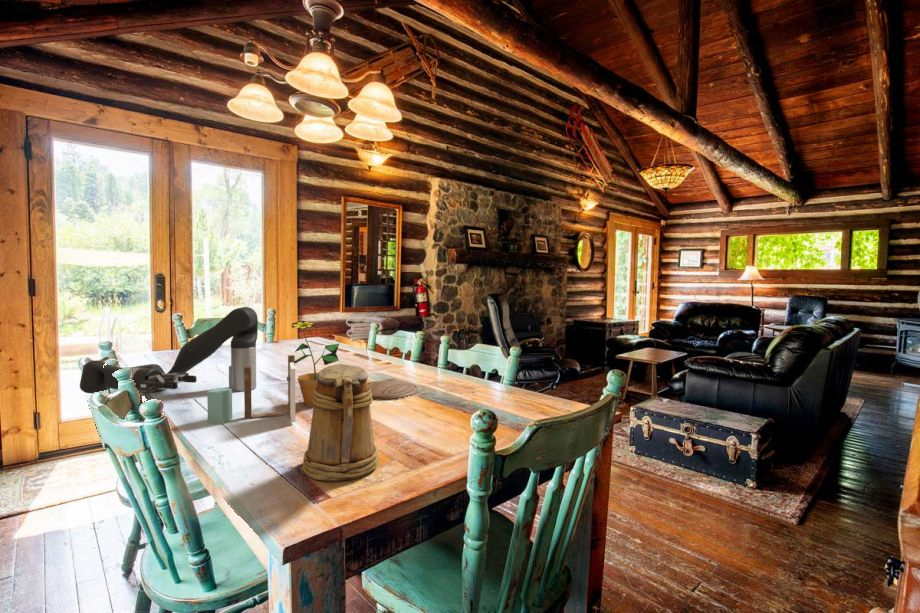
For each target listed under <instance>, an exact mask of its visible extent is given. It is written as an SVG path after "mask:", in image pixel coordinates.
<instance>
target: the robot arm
mask: <svg viewBox="0 0 920 613" xmlns="http://www.w3.org/2000/svg"><path fill="white" fill-rule="evenodd" d="M258 319H259V318H258V314H257V312H256V311H255V309H253V308H252V307H249V306H243V307H238V308H235V309H233V310H231V311H230V312H229V313H227V315H226V316H225V317H223V318H222V319H221V320H220V321H219V322H217V323H216V324H215V325H214V326H212V327H211V328H209V329H207V330H204V331H203V332H201V333H200V334H198V335H196V336H195V337H193V338H192V339H191V340H190V341H188V342H186V343H185V344H184V345H183V346H182V347H181V348H180V350H179V352H178V354H177V356H176V359H175V361H174V363H173V364H172V367H171V368H170V369H169V371H168V372H167V373H166V371H164V369H163V368H162V366H160V365H159V364H157V363H150V364H143V365H137V366H133V367H132V366H131V367H129V368H130V369H131V371H132V377H131V379H132V380H134V382H135V383H136V385H135V387H136V388H137V390H138V391H137V392H140V393H141V392H143V393H147V394H148V393H149V394H150V393H156V392H161V391H163V390H166V389H167V390H176V389H178V386H179V385H178V384H180V383H191V384H193V383H196V382H197V376H196V375H191V374H190V373H189V372H188V371H190V370H191V369H193V368H194V367H196V366H197V365H199V364H201V363H202V362H203V361H205V360H207V359H208V358H209V357H211V356H212V355H213V354H214V353H216V351H217V350H219V349H220V348H221V347H222V345H223V344H224V343H225V342H227V341H228V340H229V339H231V338H232V339H231V341H230V365H229V366H228V389H232V391H235V392H244V366H251V391H252V390H255V389H257V346H256V345H257V340H258V334H259V333H258V332H259V331H258V330H259V329H258V328H259V322H258ZM105 363H106V362H105V361H102V360H90V361H88V362H86V363H85V364H84V365H83V367H82V373H81V377H80V380H79V381H80V382H79V389H80V390H81V391H82V392H83V393H86V394H95V393H94V392H99V391H103V392H105V391H107V390H109V389H113V390H119V389H118V381H117V379H116V378H115V377H113V376H112V373H114V372H115V371H117V370H119V369H122V368H123V367H118V366H115V365H112V364H110V365H108V364H109V363H108V364H107V365H106V366H105V365H104V364H105ZM103 365H104V368H103ZM189 374H190V375H189ZM104 390H105V391H104ZM99 393H100V392H99Z"/></svg>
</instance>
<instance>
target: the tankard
mask: <svg viewBox="0 0 920 613" xmlns="http://www.w3.org/2000/svg"><path fill="white" fill-rule="evenodd" d="M316 373H317V375H316V378H317V386H316V387H315V388H314V392H313V403H314V406H312V408H313V409H312V416H311V425H310V430H309V439H308V444H307V449H306V450H305V451H304V454H303V460H302V470H303V472H304V474H306V476H308V477H309V478H312V479H314V480H318V481H323V482H335V483H336V482H343V481H352V480H353V481H354V480H356V479H359V478H362V477H364V476H367V475H369V474H370V473H372V472H373V471H375V470H376V468H377V467H378V465H379V464H380V463H379V455H378V454H379V452H378V449H377V446H376V445H375V441H374V440H375V439H374V432H373V431H374V430H373V423H372V422H373V421H372V414H371V405H372V403H373V401H374V399H373V398H372V392H371V388H370V386H368V383H369V382H368V378H369V375H368V372H367V371H366V370H365V369H364V368H362V367H360V366H356V365H349V364H343V363H337V364H334V365H333V364H332V365H328V366H326V367H324V368H322V369H320V370H319V371H318V372H316Z"/></svg>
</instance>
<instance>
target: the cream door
mask: <svg viewBox="0 0 920 613" xmlns="http://www.w3.org/2000/svg"><path fill="white" fill-rule="evenodd" d="M286 381H287V382H288V381H290V415H289V416H290V421H291V422H292V423H294V422H295V423H296V365H295V366H294V362H291V363H290V376H289V377H288V376H286Z"/></svg>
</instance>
